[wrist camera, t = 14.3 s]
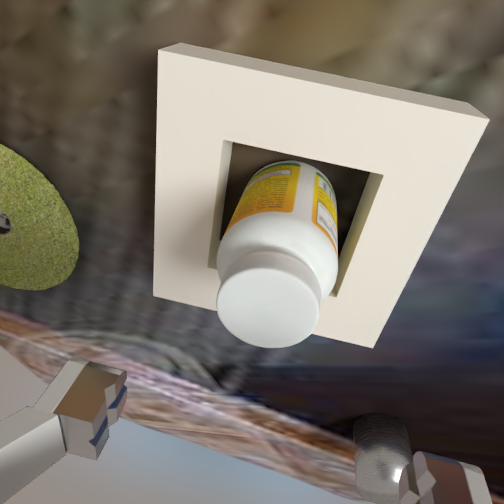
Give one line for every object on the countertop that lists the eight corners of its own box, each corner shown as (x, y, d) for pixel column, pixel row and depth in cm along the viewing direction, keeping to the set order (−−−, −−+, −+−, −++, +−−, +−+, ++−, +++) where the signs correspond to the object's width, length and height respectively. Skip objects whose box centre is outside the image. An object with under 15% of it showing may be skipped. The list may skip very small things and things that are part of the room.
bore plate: (467, 102, 18) (489, 119, 16) (368, 314, 26) (372, 348, 24) (180, 42, 19) (158, 49, 16) (169, 268, 27) (153, 295, 24)
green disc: (-58, 82, 22) (-88, 89, 20) (118, 195, 24) (103, 209, 23) (-78, 218, 28) (-102, 232, 26) (64, 298, 30) (50, 315, 29)
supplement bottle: (353, 181, 21) (370, 291, 13) (309, 253, 24) (301, 378, 16) (264, 140, 21) (225, 229, 13) (230, 219, 24) (182, 330, 16)
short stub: (415, 420, 31) (428, 484, 27) (395, 448, 34) (404, 510, 30) (362, 407, 32) (367, 469, 27) (346, 436, 34) (348, 496, 30)
